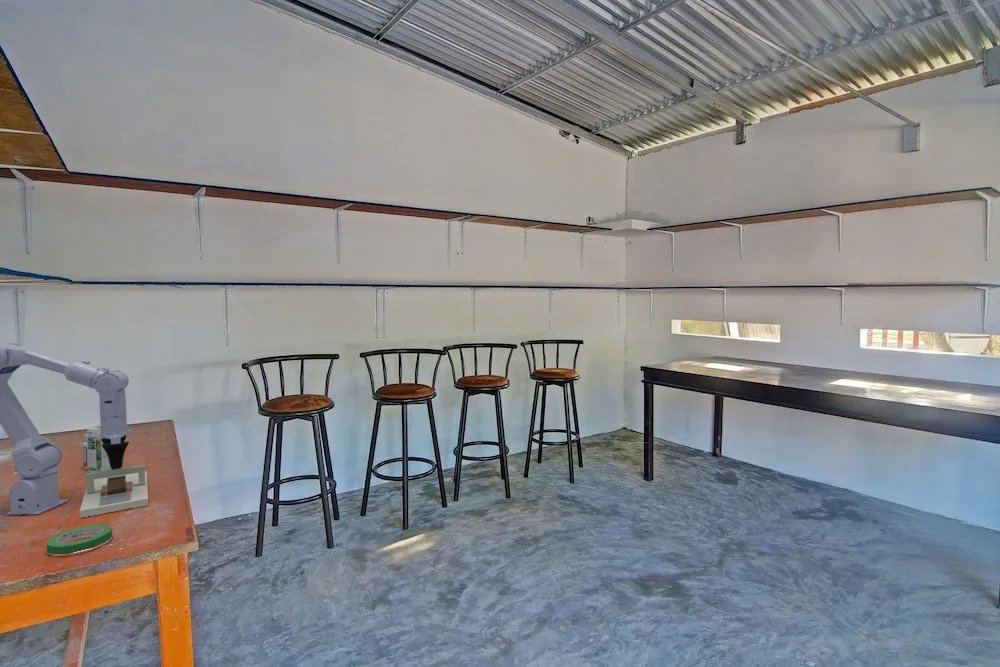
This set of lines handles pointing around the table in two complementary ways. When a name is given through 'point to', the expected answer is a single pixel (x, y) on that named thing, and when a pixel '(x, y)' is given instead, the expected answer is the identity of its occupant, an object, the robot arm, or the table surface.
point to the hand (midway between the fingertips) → (115, 465)
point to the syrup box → (96, 451)
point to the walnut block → (116, 485)
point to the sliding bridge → (115, 472)
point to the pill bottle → (85, 453)
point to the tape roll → (59, 547)
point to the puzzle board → (114, 497)
